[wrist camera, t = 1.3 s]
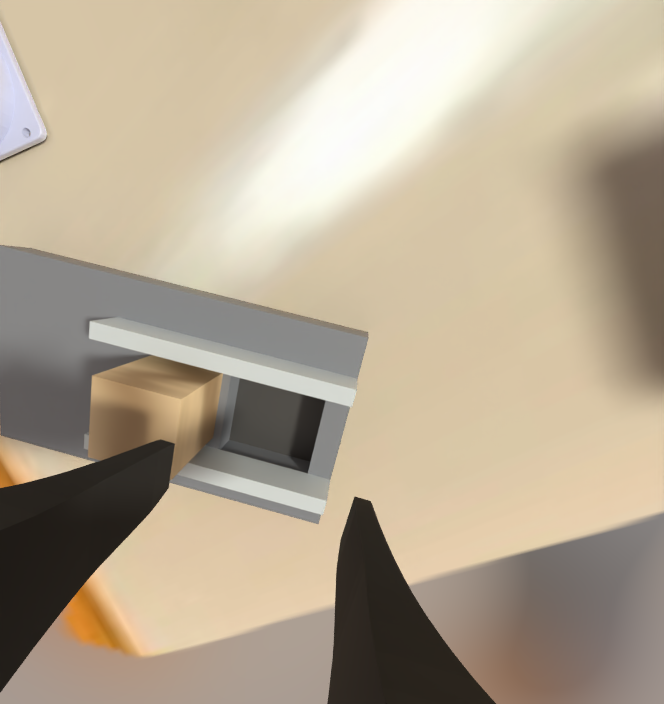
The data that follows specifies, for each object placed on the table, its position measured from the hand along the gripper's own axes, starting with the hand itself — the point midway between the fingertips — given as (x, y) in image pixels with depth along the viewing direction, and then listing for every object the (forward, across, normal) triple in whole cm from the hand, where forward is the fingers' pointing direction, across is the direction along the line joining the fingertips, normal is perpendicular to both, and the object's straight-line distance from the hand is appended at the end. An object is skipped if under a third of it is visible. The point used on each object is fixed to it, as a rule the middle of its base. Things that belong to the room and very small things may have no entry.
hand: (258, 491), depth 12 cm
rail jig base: (+10, +9, +1) cm, 13 cm away
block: (+8, +7, +1) cm, 11 cm away
